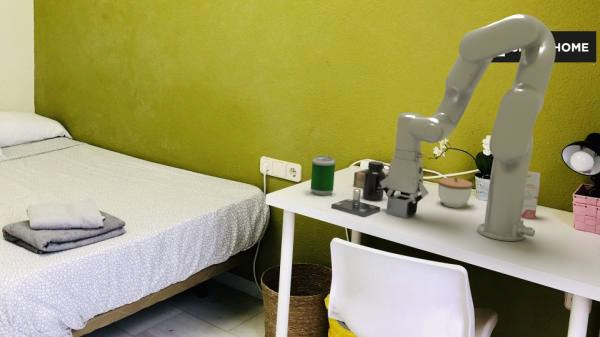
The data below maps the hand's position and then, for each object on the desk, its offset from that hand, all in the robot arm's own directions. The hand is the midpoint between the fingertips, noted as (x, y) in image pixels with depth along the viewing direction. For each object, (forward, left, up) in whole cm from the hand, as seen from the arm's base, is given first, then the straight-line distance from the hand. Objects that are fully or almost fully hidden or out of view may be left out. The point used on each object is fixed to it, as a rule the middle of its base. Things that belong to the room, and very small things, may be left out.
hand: (401, 211), depth 184 cm
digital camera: (+10, -25, -1) cm, 27 cm away
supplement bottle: (+15, -8, -1) cm, 17 cm away
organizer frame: (+23, -26, -1) cm, 35 cm away
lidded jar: (-7, -22, -1) cm, 23 cm away
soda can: (+30, 0, -1) cm, 30 cm away
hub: (0, 0, -1) cm, 1 cm away
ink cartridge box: (-27, -28, -1) cm, 39 cm away
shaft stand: (+12, +7, -1) cm, 14 cm away
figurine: (+22, -27, -1) cm, 35 cm away
